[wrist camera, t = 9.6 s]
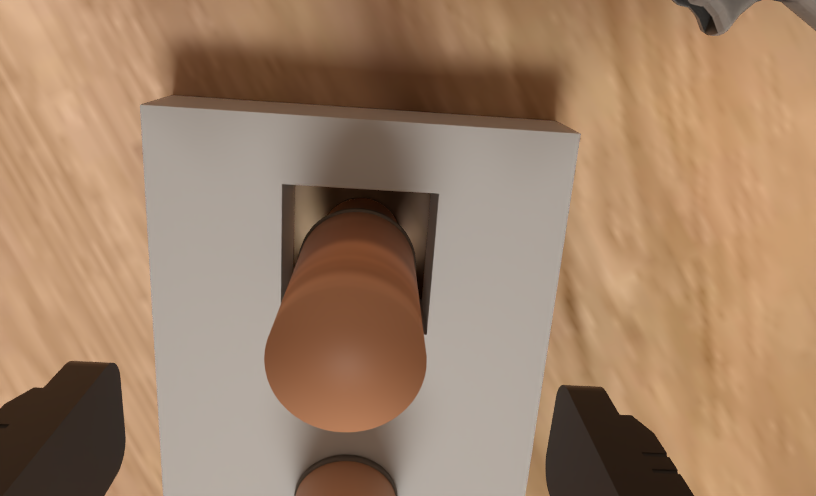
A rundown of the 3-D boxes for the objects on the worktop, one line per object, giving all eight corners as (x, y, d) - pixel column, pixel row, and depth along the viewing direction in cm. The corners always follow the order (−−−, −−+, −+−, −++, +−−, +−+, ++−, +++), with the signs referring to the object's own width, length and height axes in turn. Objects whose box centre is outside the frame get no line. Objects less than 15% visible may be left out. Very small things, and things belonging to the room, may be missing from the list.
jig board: (172, 94, 22) (19, 140, 13) (555, 121, 22) (671, 180, 13) (191, 531, 27) (95, 778, 18) (496, 540, 28) (550, 783, 19)
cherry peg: (310, 182, 23) (261, 281, 14) (415, 188, 23) (435, 289, 14) (308, 280, 24) (262, 431, 15) (408, 285, 24) (422, 437, 15)
